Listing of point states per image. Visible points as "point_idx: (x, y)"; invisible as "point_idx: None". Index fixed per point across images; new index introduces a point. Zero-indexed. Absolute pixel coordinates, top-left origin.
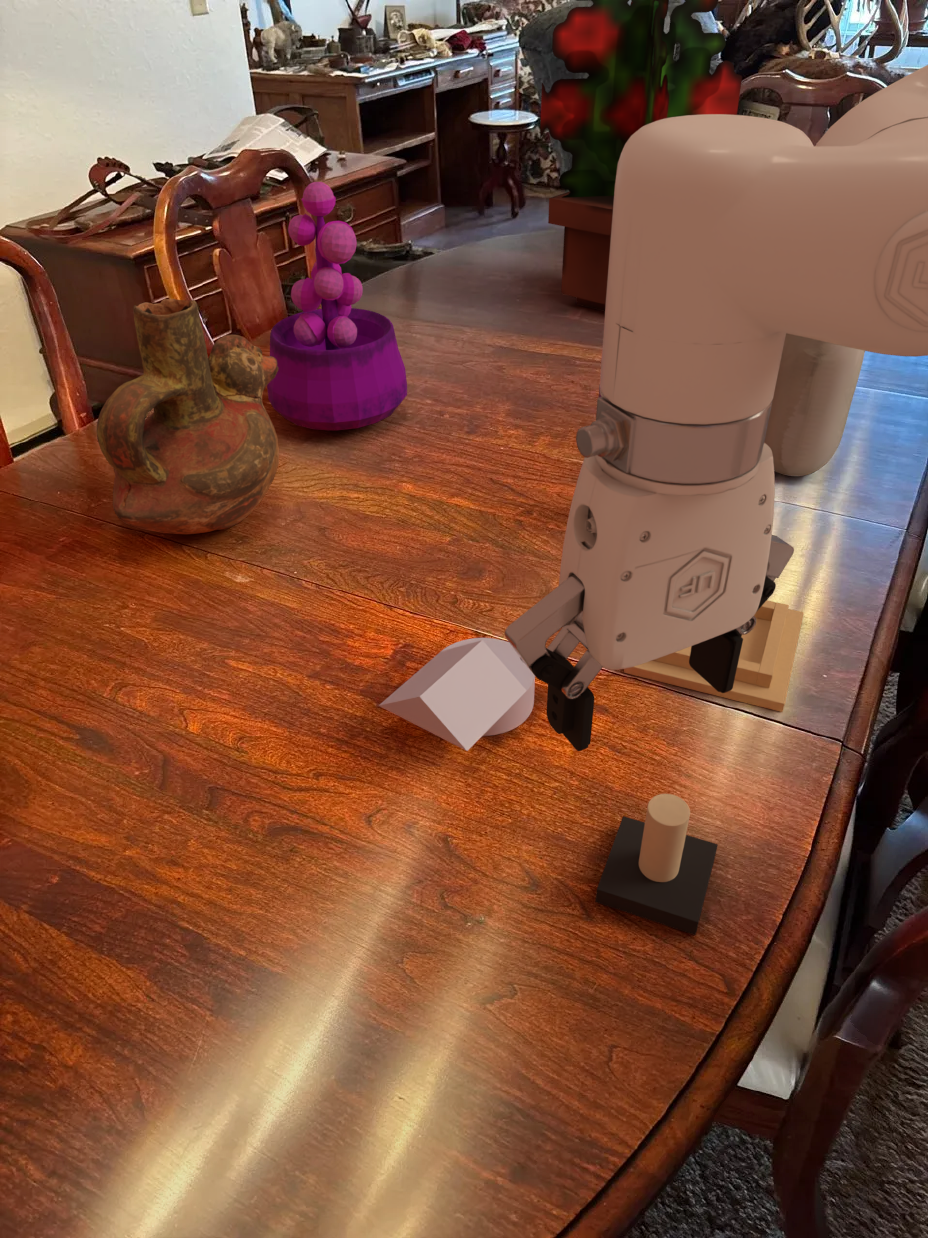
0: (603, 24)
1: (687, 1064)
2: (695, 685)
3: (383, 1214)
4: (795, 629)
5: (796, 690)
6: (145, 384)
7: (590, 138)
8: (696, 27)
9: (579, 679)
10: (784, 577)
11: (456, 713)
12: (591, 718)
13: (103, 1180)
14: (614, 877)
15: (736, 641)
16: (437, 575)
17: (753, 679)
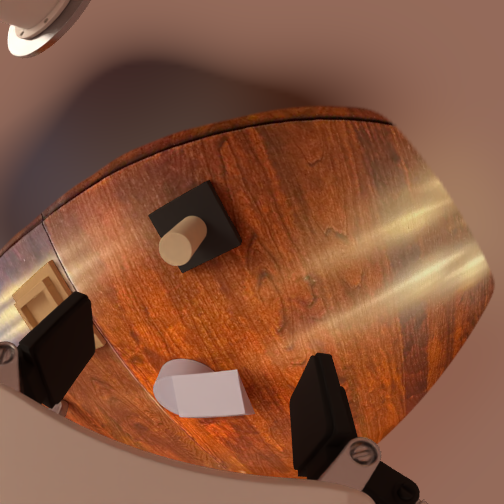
0: None
1: (284, 127)
2: None
3: (442, 193)
4: (19, 291)
5: (38, 264)
6: None
7: None
8: None
9: (363, 469)
10: (10, 316)
11: (227, 392)
12: (323, 392)
13: (481, 281)
14: (224, 243)
15: (28, 348)
16: (158, 435)
17: (51, 286)
